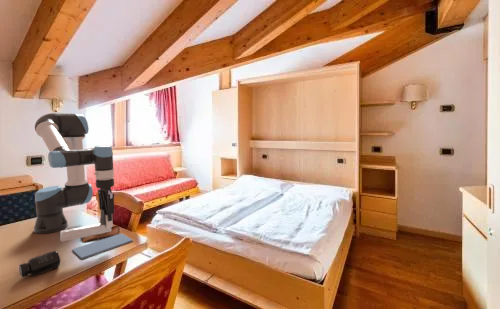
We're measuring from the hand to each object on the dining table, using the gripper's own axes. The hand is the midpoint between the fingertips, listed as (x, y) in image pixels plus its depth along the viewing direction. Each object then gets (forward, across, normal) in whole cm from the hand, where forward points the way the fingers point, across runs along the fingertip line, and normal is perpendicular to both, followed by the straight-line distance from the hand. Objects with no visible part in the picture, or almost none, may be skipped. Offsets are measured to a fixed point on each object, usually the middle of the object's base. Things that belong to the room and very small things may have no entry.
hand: (107, 225), depth 124 cm
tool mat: (+11, -3, -1) cm, 11 cm away
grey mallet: (+2, 0, -9) cm, 9 cm away
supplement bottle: (+7, +2, -21) cm, 22 cm away
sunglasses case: (+11, -15, +2) cm, 19 cm away
